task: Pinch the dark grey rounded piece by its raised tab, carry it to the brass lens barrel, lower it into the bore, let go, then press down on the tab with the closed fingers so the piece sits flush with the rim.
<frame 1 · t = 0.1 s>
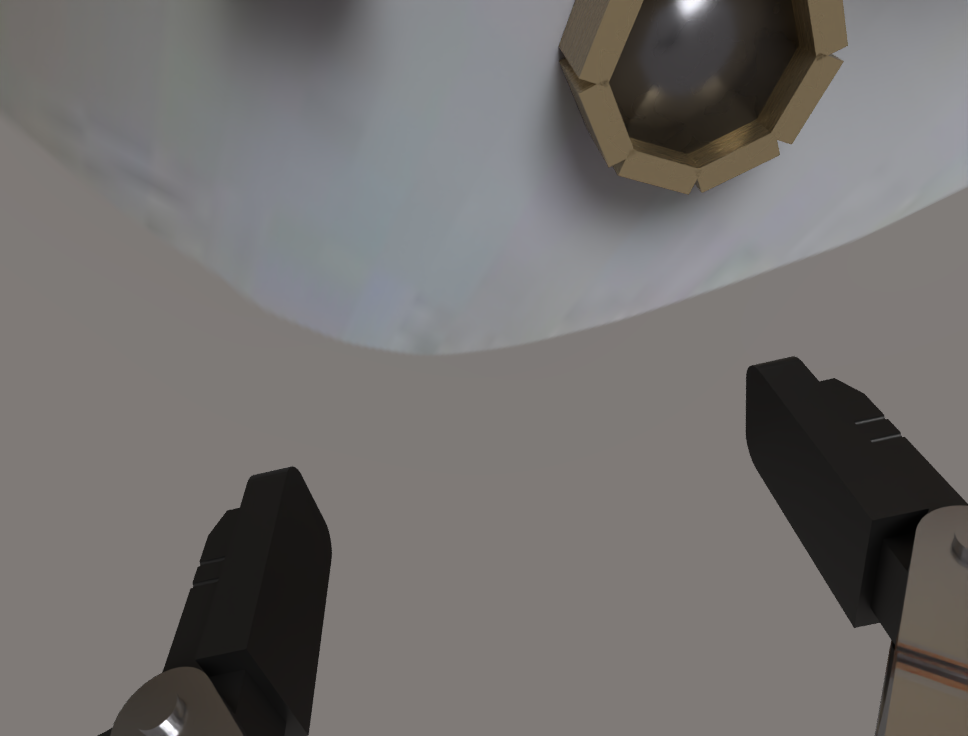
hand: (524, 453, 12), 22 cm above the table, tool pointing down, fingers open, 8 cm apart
lens barrel: (679, 38, 29), on the table
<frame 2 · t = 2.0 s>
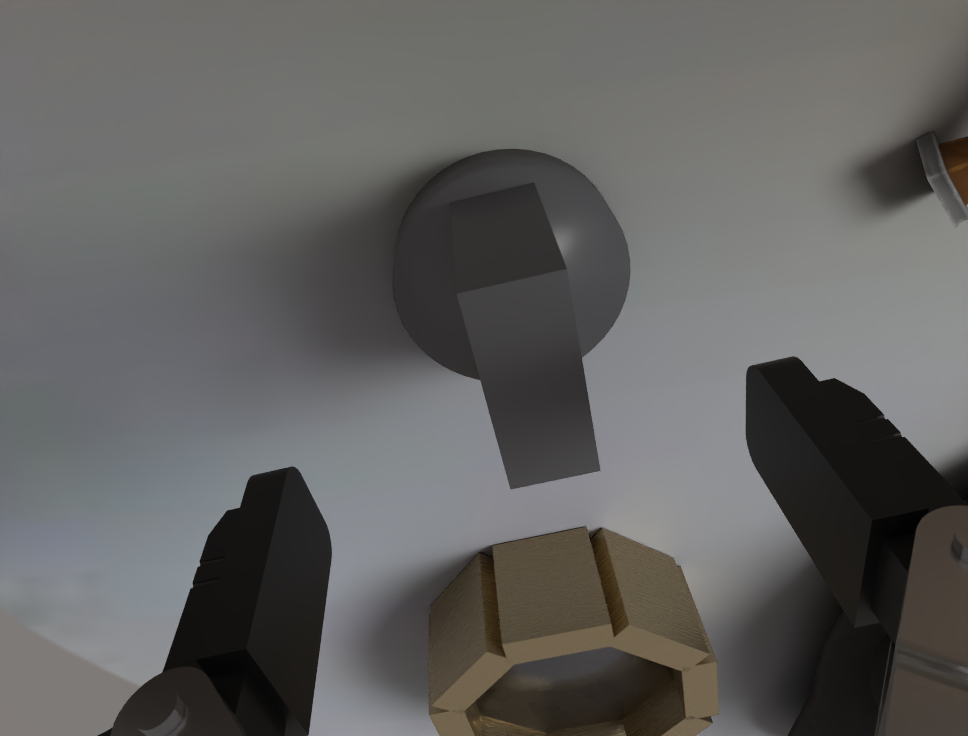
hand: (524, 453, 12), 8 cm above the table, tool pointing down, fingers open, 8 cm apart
dark grey rounded piece: (506, 260, 18), on the table
lens barrel: (559, 617, 27), on the table
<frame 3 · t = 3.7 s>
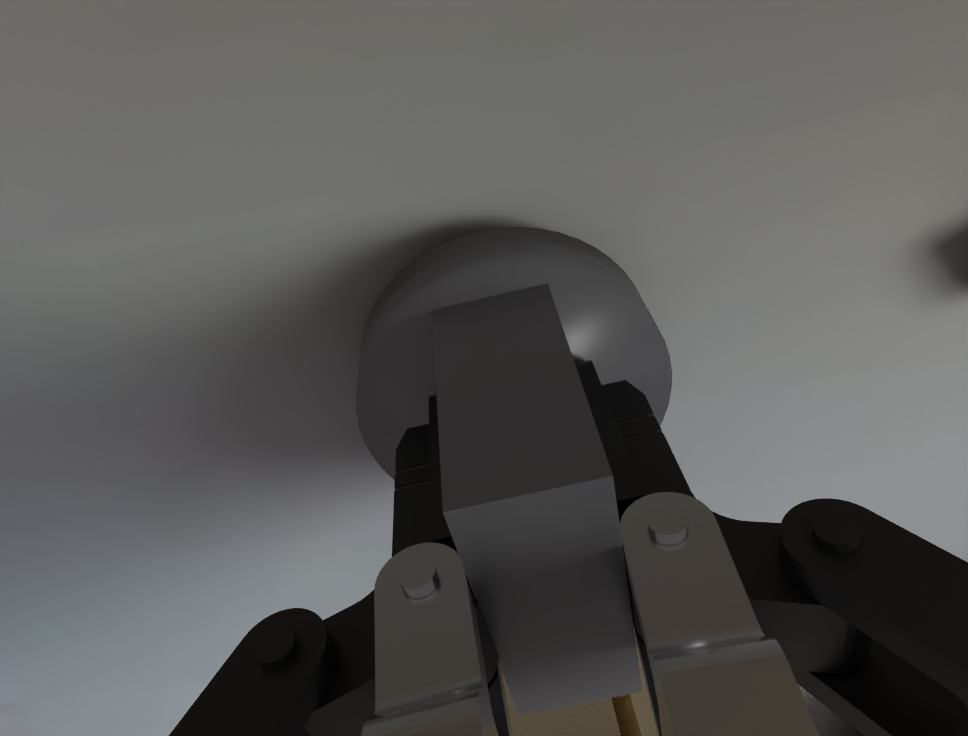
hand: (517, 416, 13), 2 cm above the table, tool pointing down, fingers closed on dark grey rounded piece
dark grey rounded piece: (506, 361, 14), point 1 cm above the table, touching gripper
lens barrel: (564, 730, 24), on the table
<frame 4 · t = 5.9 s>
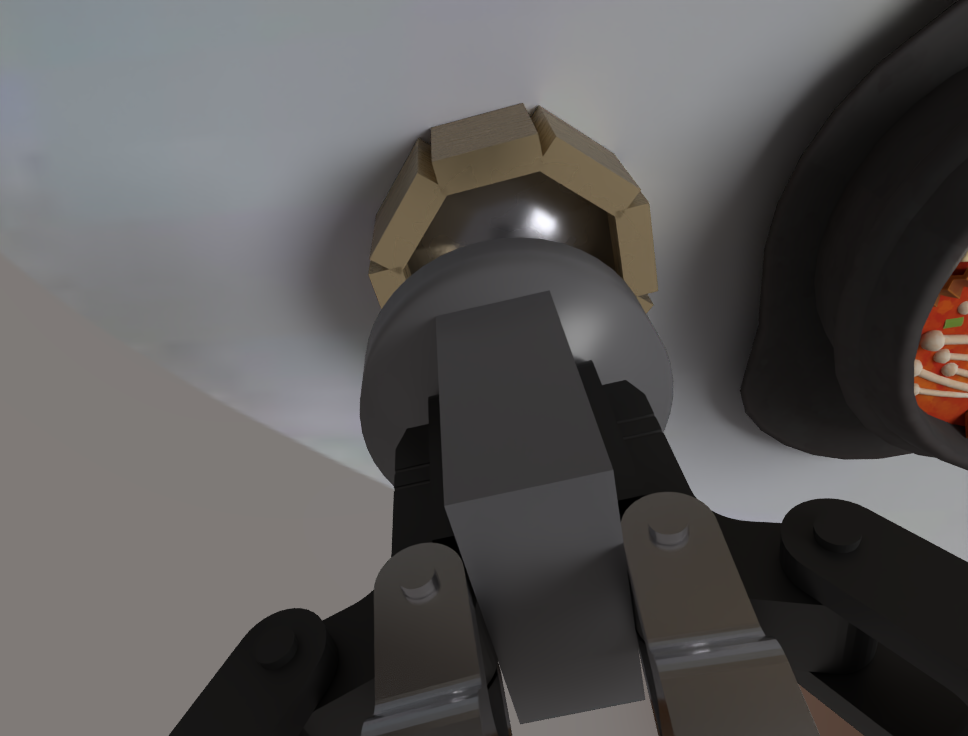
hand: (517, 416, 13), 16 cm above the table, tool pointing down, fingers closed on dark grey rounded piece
casserole: (959, 208, 29), on the table
dark grey rounded piece: (509, 371, 14), point 14 cm above the table, touching gripper
lens barrel: (505, 237, 28), on the table
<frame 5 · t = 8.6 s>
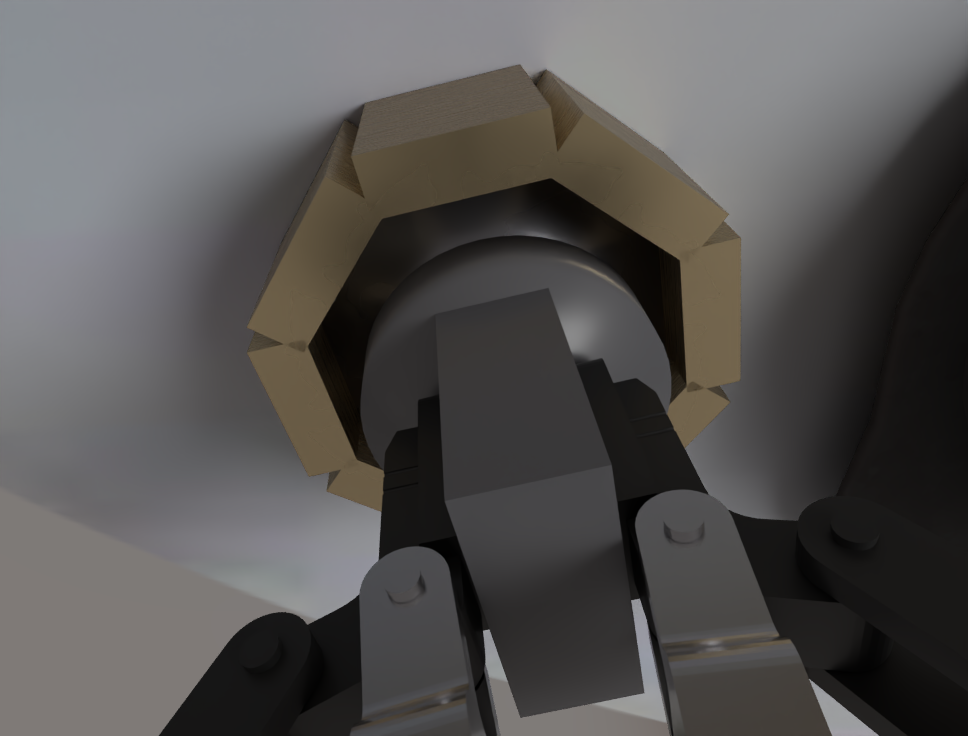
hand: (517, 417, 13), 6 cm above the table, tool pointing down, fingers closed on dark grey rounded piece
dark grey rounded piece: (508, 368, 14), point 4 cm above the table, touching gripper
lens barrel: (489, 282, 18), on the table
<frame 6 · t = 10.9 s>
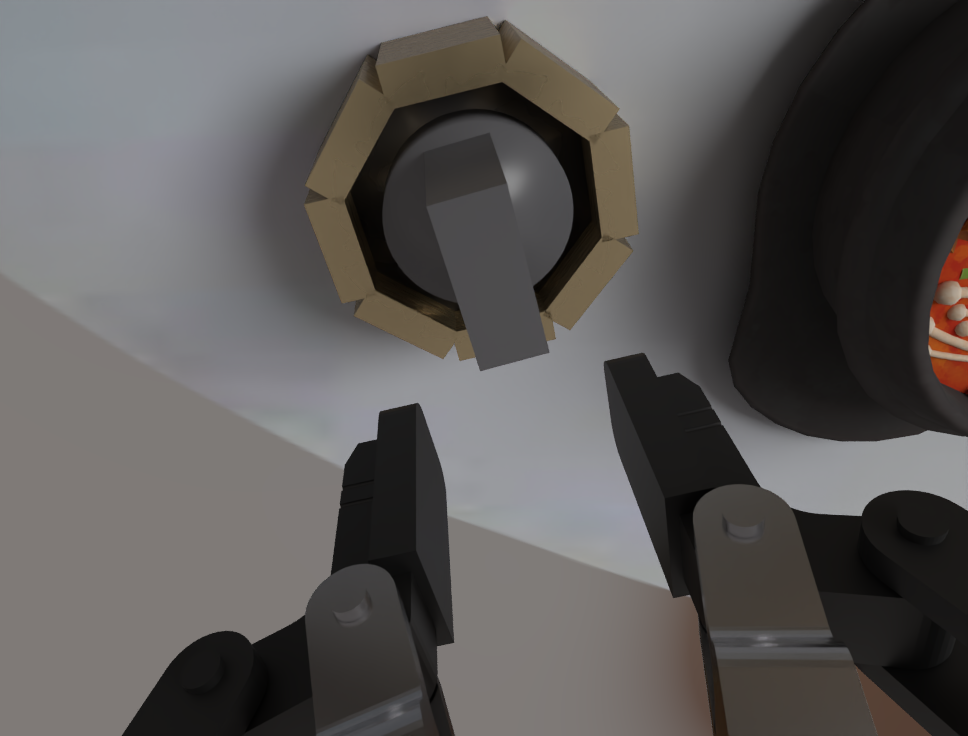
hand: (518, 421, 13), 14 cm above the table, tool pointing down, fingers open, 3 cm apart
dark grey rounded piece: (475, 203, 22), point 2 cm above the table, touching lens barrel
lens barrel: (468, 178, 24), on the table
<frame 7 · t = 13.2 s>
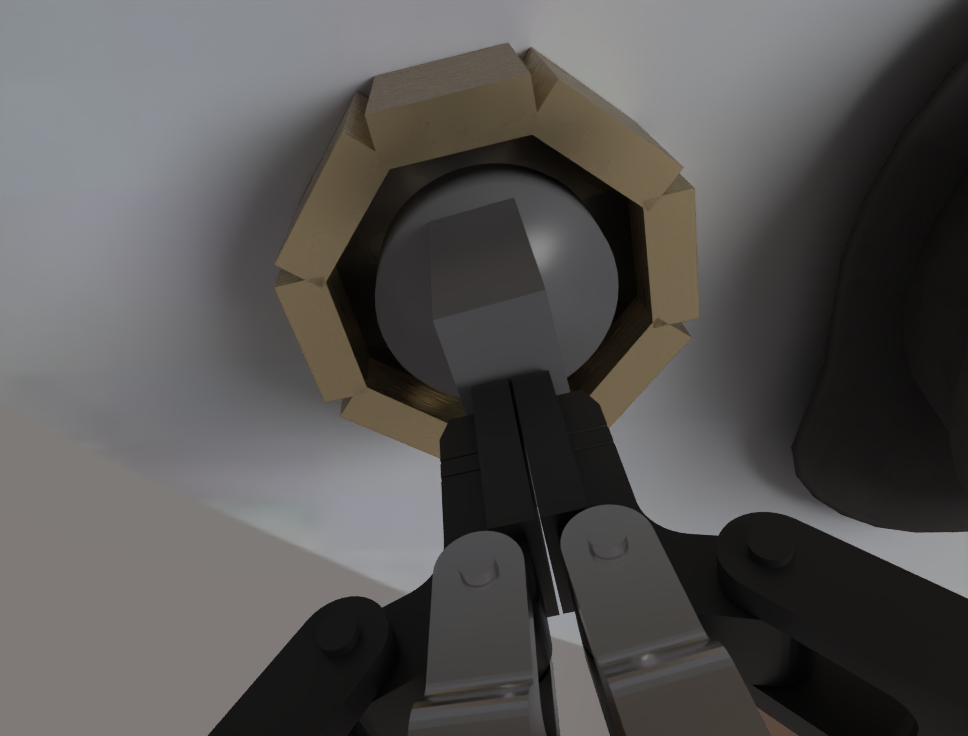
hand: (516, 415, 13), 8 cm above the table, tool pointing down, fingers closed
dark grey rounded piece: (492, 276, 18), point 2 cm above the table, touching gripper, lens barrel
lens barrel: (482, 238, 20), on the table
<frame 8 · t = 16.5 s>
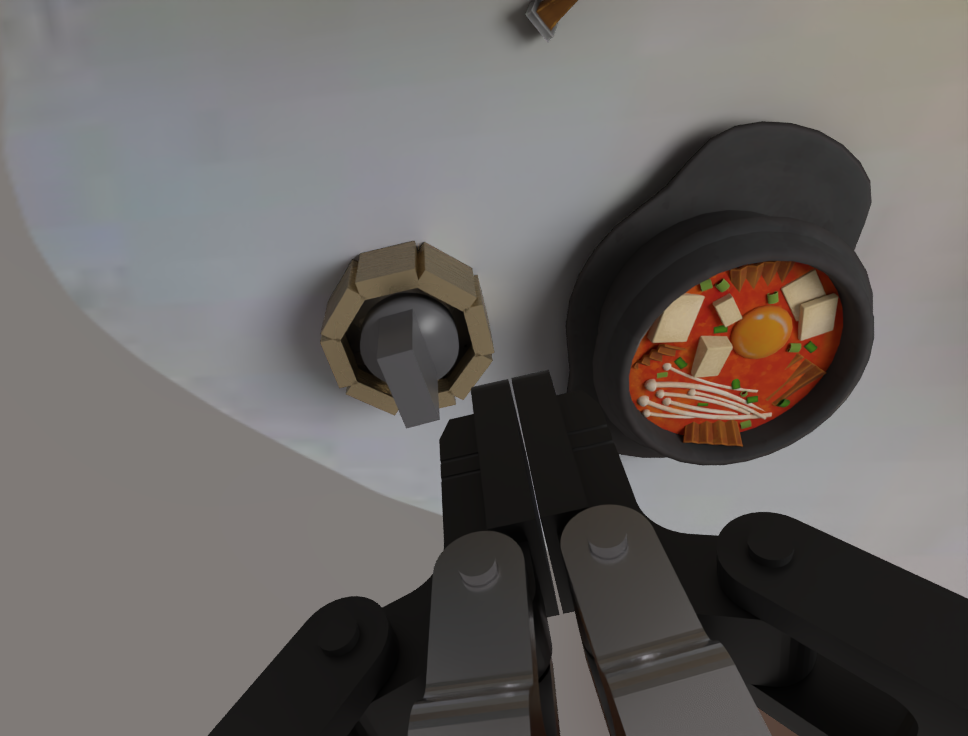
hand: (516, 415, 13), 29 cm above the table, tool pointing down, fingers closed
casserole: (694, 300, 46), on the table
dark grey rounded piece: (409, 334, 42), point 2 cm above the table, touching lens barrel
lens barrel: (409, 315, 44), on the table
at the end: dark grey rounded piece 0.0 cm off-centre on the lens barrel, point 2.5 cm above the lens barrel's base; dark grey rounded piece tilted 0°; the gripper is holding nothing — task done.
